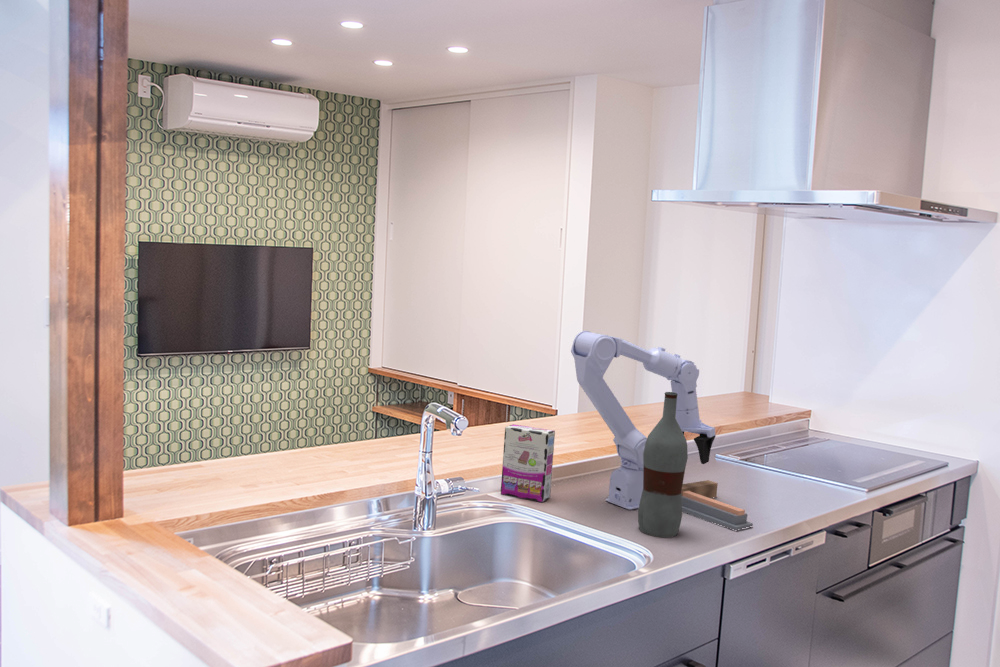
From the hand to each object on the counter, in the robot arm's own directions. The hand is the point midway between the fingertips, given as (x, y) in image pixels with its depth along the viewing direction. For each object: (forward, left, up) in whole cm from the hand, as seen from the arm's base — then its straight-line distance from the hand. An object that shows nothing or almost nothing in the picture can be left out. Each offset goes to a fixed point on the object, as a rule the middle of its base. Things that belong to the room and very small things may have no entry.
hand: (692, 459), depth 202 cm
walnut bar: (-2, 0, -10) cm, 10 cm away
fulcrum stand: (-7, -12, -10) cm, 17 cm away
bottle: (-26, -13, -10) cm, 31 cm away
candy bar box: (-37, +19, -10) cm, 42 cm away
